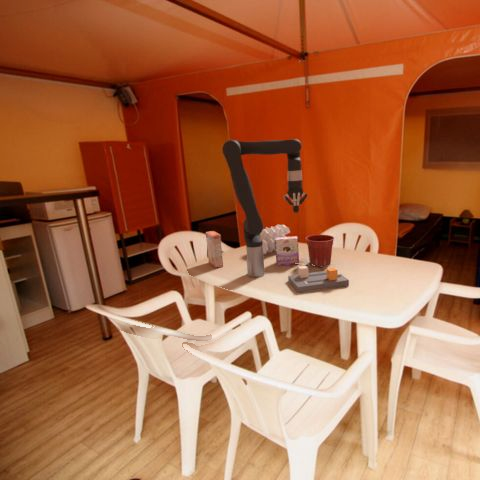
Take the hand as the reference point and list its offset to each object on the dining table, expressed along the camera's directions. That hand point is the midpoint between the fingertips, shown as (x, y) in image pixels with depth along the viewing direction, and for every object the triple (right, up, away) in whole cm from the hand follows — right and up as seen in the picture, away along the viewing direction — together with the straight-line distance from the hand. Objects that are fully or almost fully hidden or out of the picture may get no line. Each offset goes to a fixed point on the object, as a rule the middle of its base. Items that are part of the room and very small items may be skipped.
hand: (295, 212), depth 174 cm
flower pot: (+19, -29, +23) cm, 41 cm away
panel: (+10, -37, -6) cm, 39 cm away
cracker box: (-45, -31, +37) cm, 66 cm away
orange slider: (+16, -34, -10) cm, 39 cm away
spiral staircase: (-8, -23, +55) cm, 60 cm away
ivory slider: (+3, -33, -4) cm, 34 cm away
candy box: (0, -29, +28) cm, 40 cm away
